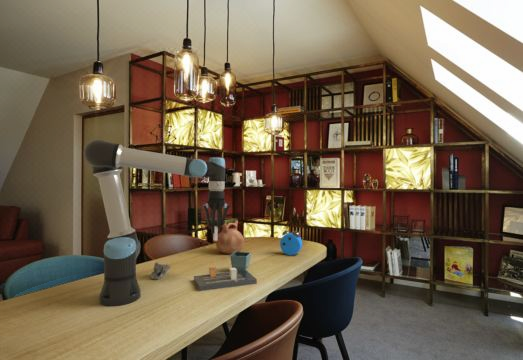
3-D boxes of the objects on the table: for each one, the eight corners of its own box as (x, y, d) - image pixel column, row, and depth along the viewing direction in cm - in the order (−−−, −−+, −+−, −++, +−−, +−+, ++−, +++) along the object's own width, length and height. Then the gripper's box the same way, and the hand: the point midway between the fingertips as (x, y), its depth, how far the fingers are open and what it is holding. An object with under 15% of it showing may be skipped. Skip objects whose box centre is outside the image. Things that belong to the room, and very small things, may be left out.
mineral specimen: (154, 286, 156) (170, 283, 153) (143, 279, 151) (160, 275, 148) (159, 268, 163) (175, 265, 160) (149, 261, 158) (165, 257, 155)
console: (199, 290, 136) (199, 284, 136) (193, 280, 150) (193, 274, 150) (256, 283, 146) (256, 277, 146) (246, 274, 160) (246, 269, 160)
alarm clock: (302, 254, 200) (302, 230, 200) (299, 256, 194) (299, 232, 194) (283, 252, 205) (283, 229, 205) (279, 254, 200) (279, 230, 200)
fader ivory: (231, 279, 144) (231, 270, 144) (229, 277, 147) (229, 268, 147) (236, 279, 145) (236, 269, 145) (234, 277, 148) (234, 267, 148)
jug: (229, 248, 219) (228, 218, 219) (249, 251, 208) (249, 221, 208) (209, 253, 204) (209, 222, 204) (231, 257, 193) (231, 224, 193)
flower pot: (246, 274, 160) (246, 256, 160) (229, 273, 162) (229, 255, 161) (251, 269, 168) (250, 252, 168) (234, 268, 170) (234, 251, 170)
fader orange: (210, 277, 147) (210, 267, 147) (208, 275, 150) (208, 266, 150) (215, 276, 148) (215, 267, 148) (214, 274, 151) (214, 265, 151)
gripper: (204, 190, 145) (203, 242, 145) (232, 190, 150) (230, 241, 150) (201, 189, 152) (200, 239, 152) (227, 190, 157) (226, 238, 157)
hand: (215, 240), depth 151 cm, fingers closed
